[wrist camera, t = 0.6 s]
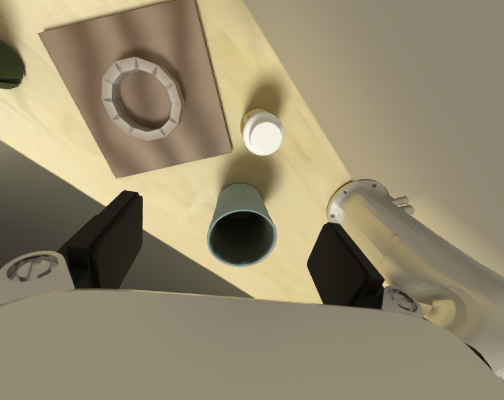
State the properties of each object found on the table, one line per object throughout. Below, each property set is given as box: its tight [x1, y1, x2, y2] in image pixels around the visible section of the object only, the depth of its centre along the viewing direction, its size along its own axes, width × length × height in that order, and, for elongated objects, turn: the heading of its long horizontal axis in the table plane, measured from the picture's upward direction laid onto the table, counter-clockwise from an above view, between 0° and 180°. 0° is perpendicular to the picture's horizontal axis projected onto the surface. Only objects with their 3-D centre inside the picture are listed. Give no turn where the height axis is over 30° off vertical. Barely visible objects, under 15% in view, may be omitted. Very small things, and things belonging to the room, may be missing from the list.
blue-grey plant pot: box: [207, 183, 277, 267], centre depth 36 cm, size 10×10×12 cm
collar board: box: [38, 0, 232, 179], centre depth 31 cm, size 20×20×4 cm
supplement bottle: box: [241, 109, 284, 155], centre depth 31 cm, size 6×6×10 cm
